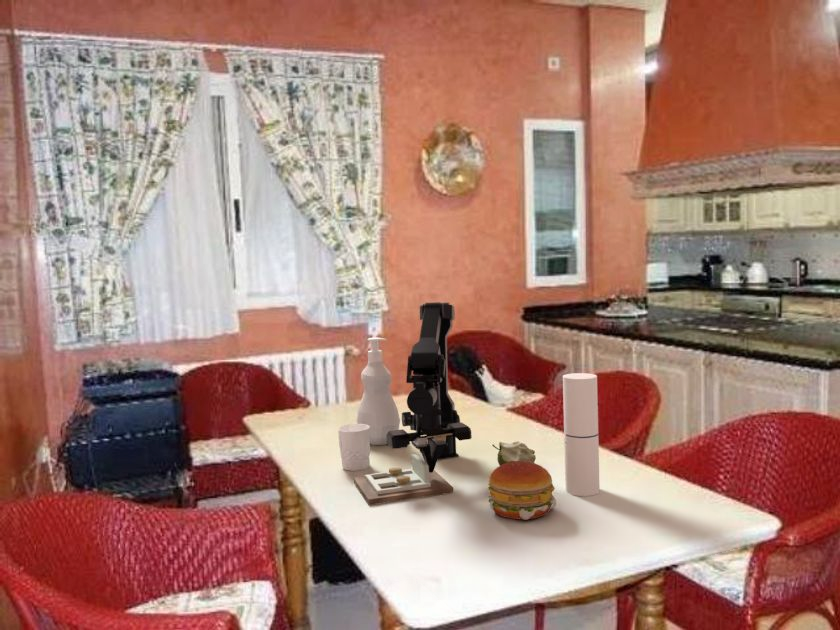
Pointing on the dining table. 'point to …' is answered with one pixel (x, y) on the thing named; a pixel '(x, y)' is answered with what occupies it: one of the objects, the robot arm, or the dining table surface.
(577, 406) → the cylindrical container
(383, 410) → the soap bottle
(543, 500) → the burger
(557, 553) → the dining table surface
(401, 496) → the board
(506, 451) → the fruit
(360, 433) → the white cup
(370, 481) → the panel
